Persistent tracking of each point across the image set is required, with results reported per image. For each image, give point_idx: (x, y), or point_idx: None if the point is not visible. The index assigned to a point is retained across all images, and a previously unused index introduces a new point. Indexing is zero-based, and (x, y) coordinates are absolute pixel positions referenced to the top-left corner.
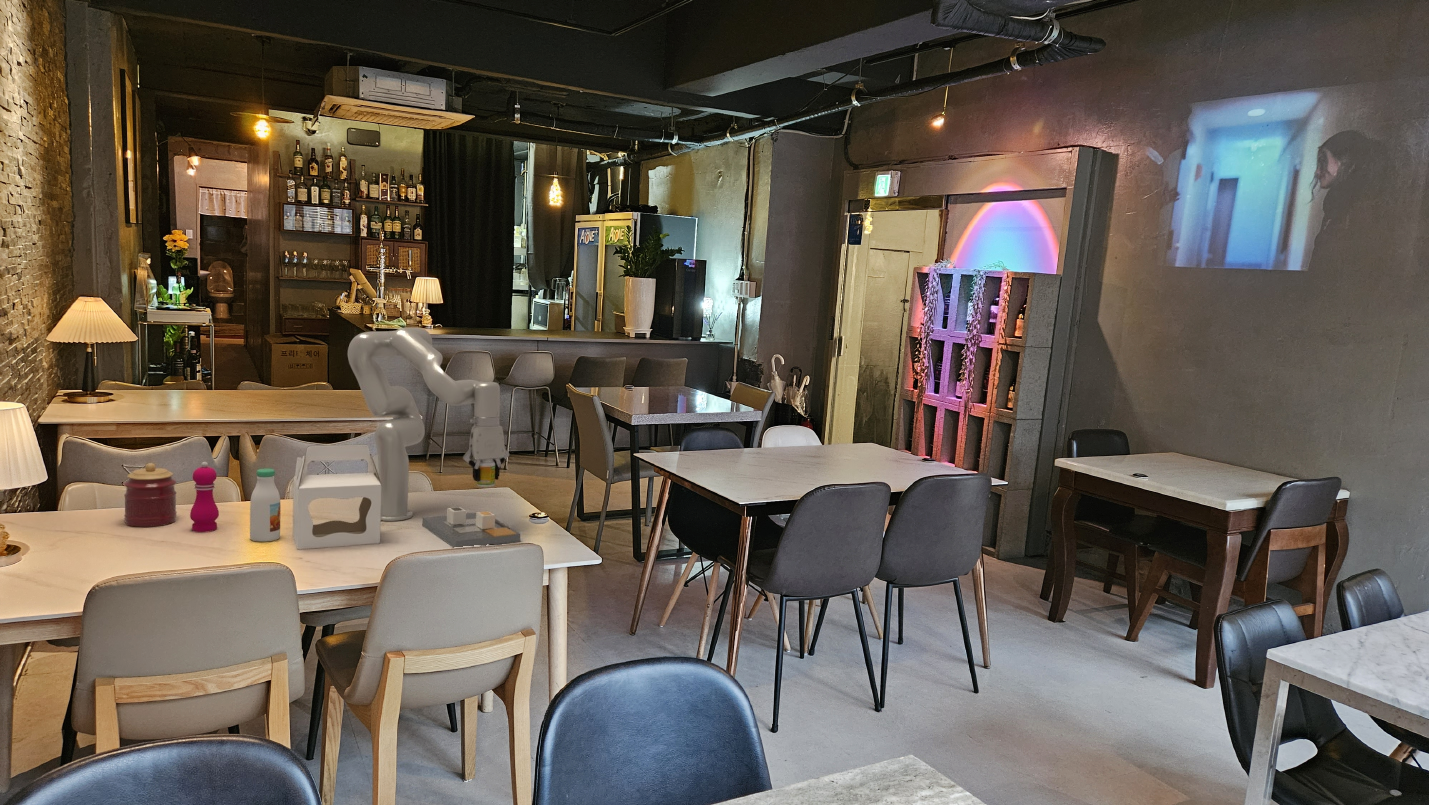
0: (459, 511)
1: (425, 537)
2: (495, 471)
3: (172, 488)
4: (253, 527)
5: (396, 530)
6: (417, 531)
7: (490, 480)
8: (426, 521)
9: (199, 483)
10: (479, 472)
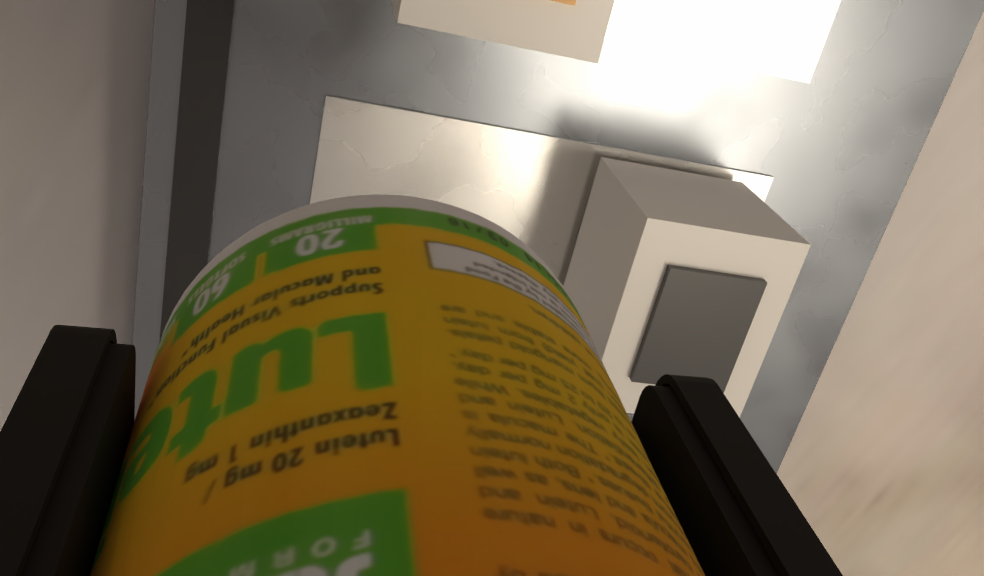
0: (735, 230)
1: (952, 181)
2: (75, 567)
3: None
4: None
5: (947, 464)
6: (861, 372)
7: (403, 262)
8: (780, 451)
9: None
10: (781, 550)
